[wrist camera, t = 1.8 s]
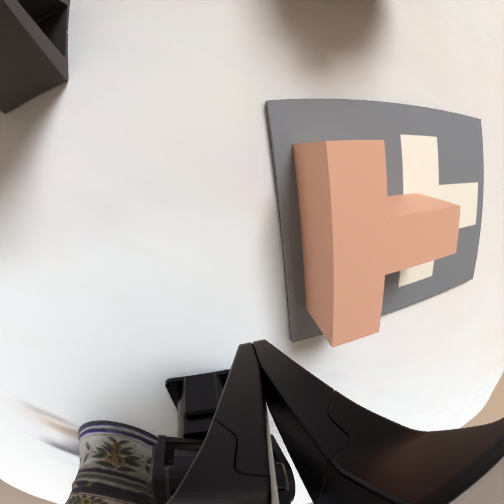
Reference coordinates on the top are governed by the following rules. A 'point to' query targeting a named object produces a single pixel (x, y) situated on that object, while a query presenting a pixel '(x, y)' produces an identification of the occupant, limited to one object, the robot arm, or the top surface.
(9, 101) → the phone stand
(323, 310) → the t block
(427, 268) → the mat
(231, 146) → the top surface
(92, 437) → the vase
